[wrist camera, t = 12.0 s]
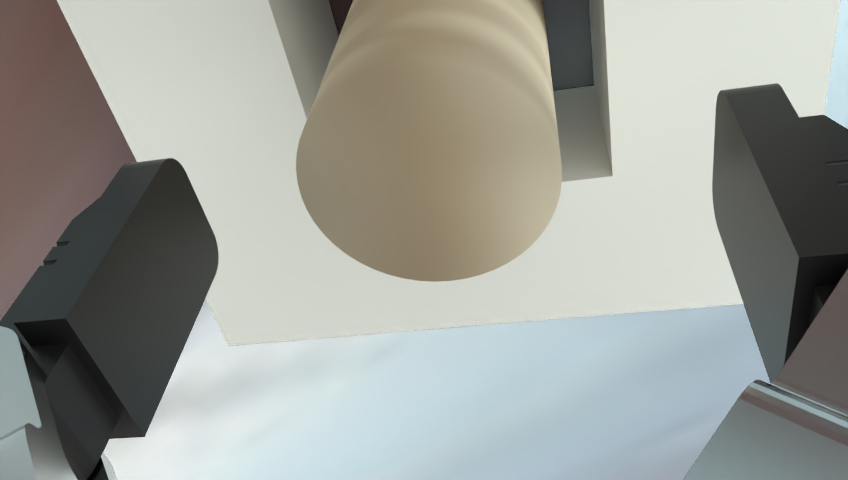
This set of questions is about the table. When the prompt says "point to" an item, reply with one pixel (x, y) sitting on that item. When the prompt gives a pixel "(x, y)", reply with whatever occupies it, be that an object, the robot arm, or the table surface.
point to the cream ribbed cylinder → (434, 137)
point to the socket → (578, 140)
